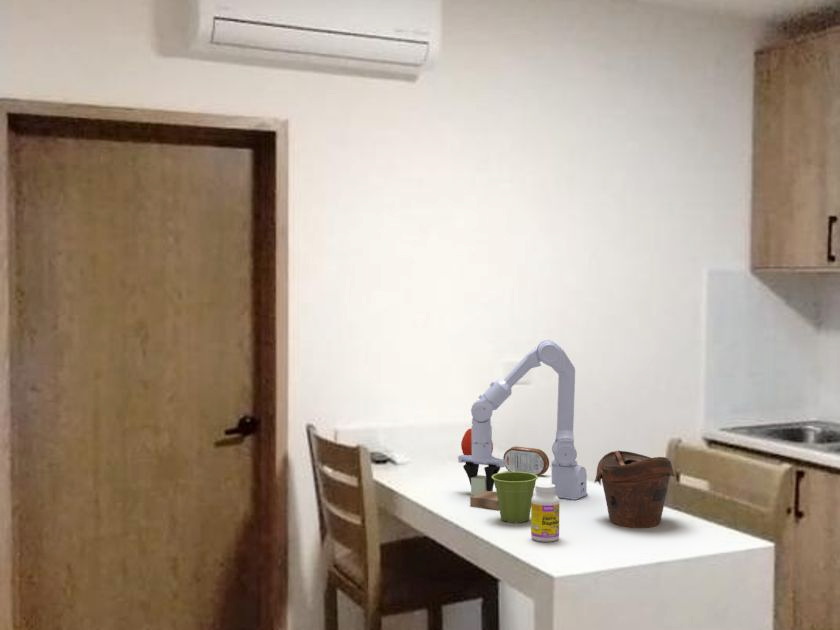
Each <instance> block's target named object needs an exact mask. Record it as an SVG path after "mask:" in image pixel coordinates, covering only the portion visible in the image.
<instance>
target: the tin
mask: <svg viewBox="0 0 840 630" xmlns="http://www.w3.org/2000/svg"><path fill="white" fill-rule="evenodd" d="M502 459H504V460H506V466H505V467H504V468H505V469H506V470H507V472H526V473H532V474H535V475H537V476H538V477H539V476H541V475H544V474H546V472H547V471H548V470H549V467H550V459H549V457H548V455H547V453H545V451H543V450H542V449H540V448H534V447H523V446H512V447H510V448H509V449H507V450H506V451H505V453H504V454H503V458H502Z"/></svg>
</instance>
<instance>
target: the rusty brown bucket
mask: <svg viewBox="0 0 840 630" xmlns="http://www.w3.org/2000/svg"><path fill="white" fill-rule="evenodd" d="M671 477H674V478H675V472H674V468H673V466H672V461H671V460H669V458H668V457H666V456H665V457H664V456H656V457H650V456H647V455H643V454H640V453H636V452H632V451H627V450H615V451H611V452H610V451H609V452H608V453H606V454H605V455H604V456H603V457H602V458H601V459H600V460H599V461H598V463H597V467H596V474H595V478H594V479H595V480H594V484H595V483H597V482H598V484H599V485H600V486H601V483H602V487H603V493H604V497H605V501H606V502H605V503H606V507H607V514H608V518H609V521H611V523H613V524H615V525H619V526H623V527H627V528H628V527H629V528H637V529H638V528H640V529H641V528H642V529H643V528H651V527H656V526H658V525H660V524H661V522H662V516H663V511H664V507H665V503H666V498H667V493H668V489H669V484H670V479H671Z"/></svg>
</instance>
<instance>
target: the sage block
mask: <svg viewBox="0 0 840 630" xmlns="http://www.w3.org/2000/svg"><path fill="white" fill-rule="evenodd" d="M485 491H487V481H486V475H481V474H478V476H475V477H472V478H471V485H470V496H474V495H477V494H480V493H483V492H485ZM492 492H494V489H493V490H492Z"/></svg>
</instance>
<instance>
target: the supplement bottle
mask: <svg viewBox="0 0 840 630" xmlns="http://www.w3.org/2000/svg"><path fill="white" fill-rule="evenodd" d="M534 489H535V492H536V493H535V495H534V494H533V497H532V499H531V511H530V517H531V518H530V521H531V523H530V527H531V528H530V537H531V538H532V540H534V541H537V542H543V543H545V542H546V543H550V542H555V541H557V540H559V538H560V498H559V497H557V496H556V495H555V494H554V492H555V485H554V484H552V483H548V482H547V483H546V482H543V483H535V488H534Z"/></svg>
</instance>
